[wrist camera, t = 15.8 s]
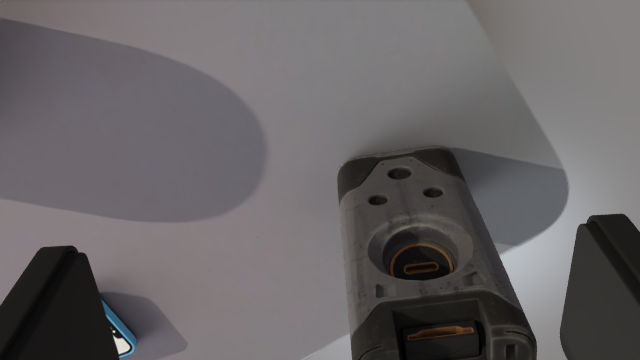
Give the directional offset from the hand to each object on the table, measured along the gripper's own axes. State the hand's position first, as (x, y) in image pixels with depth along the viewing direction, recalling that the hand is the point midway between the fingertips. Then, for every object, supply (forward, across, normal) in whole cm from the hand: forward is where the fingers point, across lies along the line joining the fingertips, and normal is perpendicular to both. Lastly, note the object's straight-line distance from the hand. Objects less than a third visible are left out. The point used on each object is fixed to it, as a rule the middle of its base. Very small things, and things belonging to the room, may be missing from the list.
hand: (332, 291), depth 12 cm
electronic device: (+33, -5, +17) cm, 37 cm away
